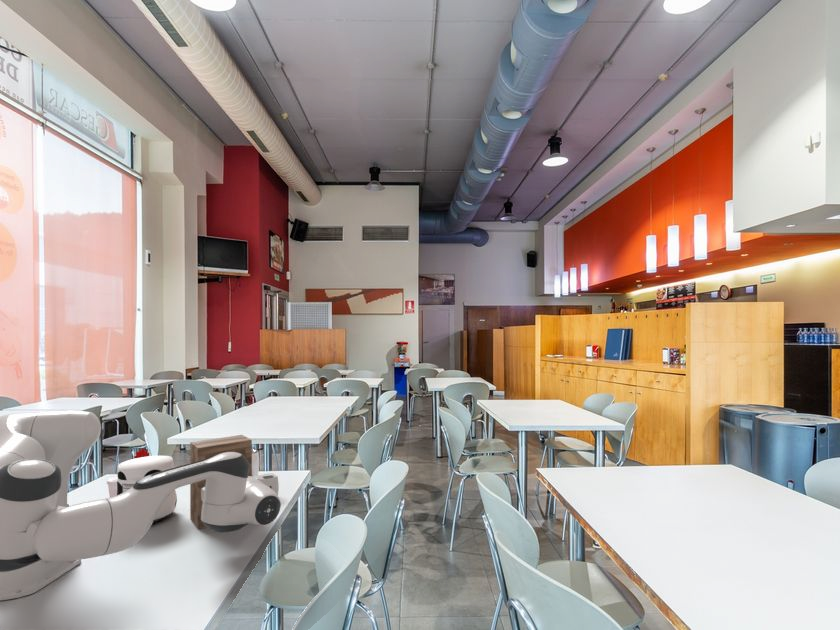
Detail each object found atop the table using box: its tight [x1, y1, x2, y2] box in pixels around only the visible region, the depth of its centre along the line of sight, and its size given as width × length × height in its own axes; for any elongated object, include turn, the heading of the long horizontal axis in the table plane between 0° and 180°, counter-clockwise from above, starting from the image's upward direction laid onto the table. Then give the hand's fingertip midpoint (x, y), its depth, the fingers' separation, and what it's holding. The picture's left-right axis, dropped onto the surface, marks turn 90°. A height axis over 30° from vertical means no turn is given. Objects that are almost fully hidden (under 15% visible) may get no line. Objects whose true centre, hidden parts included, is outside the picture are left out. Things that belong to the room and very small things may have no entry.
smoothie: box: [106, 464, 119, 498], centre depth 158 cm, size 6×6×14 cm
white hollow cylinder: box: [252, 449, 260, 477], centre depth 168 cm, size 7×7×15 cm
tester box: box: [189, 434, 253, 530], centre depth 147 cm, size 10×16×24 cm, turn 128°
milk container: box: [117, 455, 178, 523], centre depth 147 cm, size 17×17×18 cm
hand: (232, 481), depth 138 cm, fingers closed, pressing on terracotta plug
